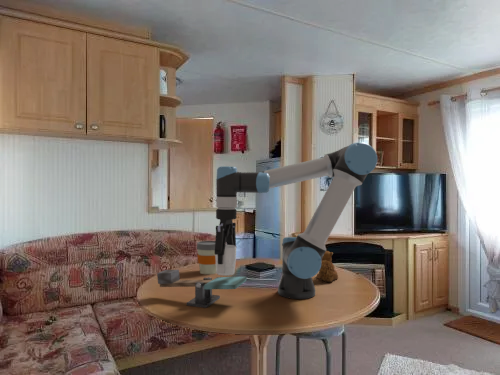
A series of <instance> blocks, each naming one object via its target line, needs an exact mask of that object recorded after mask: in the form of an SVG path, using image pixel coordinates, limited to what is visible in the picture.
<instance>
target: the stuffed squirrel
mask: <svg viewBox="0 0 500 375" xmlns="http://www.w3.org/2000/svg"><path fill="white" fill-rule="evenodd" d="M333 254H334V252H332V251H331V252H330V251H329V250H326V252H325V253H324V255H323V257H322V259H321V268H320V270H319V272H318V273H317V274H316V277H317V279H318V280H322V281H323V282H326V283H332V282H333V281H335V280H338V278H339V274H338V272H337V271H336V270H335V265H334V264H333V262H332V260H333V259H332V256H333Z"/></svg>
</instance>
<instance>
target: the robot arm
mask: <svg viewBox="0 0 500 375" xmlns="http://www.w3.org/2000/svg"><path fill="white" fill-rule="evenodd" d="M377 165H378V155H377V152H376V150H375V149H374V148H373V146H372V145H370V144H368V143H366V142H354V143H351V144H349V145H347V146H345V147H342V148H340V149H337V150H335V151H333V152H330V153H326V154H324V155H323V157H320V158H315V159H310V160H307V161H301V162H297V163H293V164H289V165H284V166H281V167H275V168H272V169H267V170H263V171H258V172H254V171H253V172H252V171H251V172H249V171H247V172H242V171H241V172H239V171H238V167H237V166H230V165H229V166H227V165H226V166H224V165H223V166H218V167H217V169H216V179H215V180H216V181H215V182H216V185H215V186H216V188H215V190H216V197H215V198H216V199H215V204H216V210H215V215H216V216H215V218H216V219H217V220H219V224H218V225H215V240H214V241H215V255H217V273H225V255H224V251H225V245H234V246H237V238H236V236H237V232H236V227H237V226H236V225H237V223H236V222H234V221H233V220H236V219H237V215H238V214H237V209H236V208H237V207H238V200H237V199H238V197H237V196H238V193H247V194H248V193H251V194H253V193H254V194H255V193H257V194H265V193H266V194H267V193H268V192H269V191H270V189H274V188H278V187H279V188H280V187H283V186H287V185H292V184H296V183H300V182H305V181H309V180H313V179H317V178H322V177H329V178H332V180H331V182H330V184H329V186H328V187H327V189H326V192H325V193H324V195H323V197H322V199H321V200H320V202H319V205H317V208H316V209H315V212H314V213H313V214H312V215H313V216H311V219H310V221H309V222H308V224H307V226H306V228H305V229H304V231H303V232H301V233H299V234H297V236H296V237H293V236H290V237H289V236H287V237H286V236H285V237H283V239H282V243H281V246H282V252H281V253H282V258H281V259H282V260H281V262H282V264H281V265H282V268H281V270H282V273H281V274H282V275H281V277H280V280H279V283H278V287H277V294H278V296H280V297H283V298H287V299H292V300H293V299H295V300H304V299H311V298H313V297H315V296H316V287H315V284H314V280H313V277H315V276H317V274H319V270H320V268H321V261H322V260H321V259H322V257H323V255H324V253H325V252H326V251H327V248H326V247H327V246H326V242H327V241H328V239H329V238H330V235H331V233H332V231H333V229H334V228H335V226H336V224H337V222H338V220H339V219H340V217H341V215H342V212H343V211H344V210H345V207H346V205H347V204H348V202H349V200H350V198H351V196H352V194H353V192H354V190H355V189H356V188H357V187H358V186H362V184H363V183H364V181H365V179H366V178H367V176H368V174H371V173H372V172H373V171H374V170H375V169H376V167H377Z"/></svg>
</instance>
